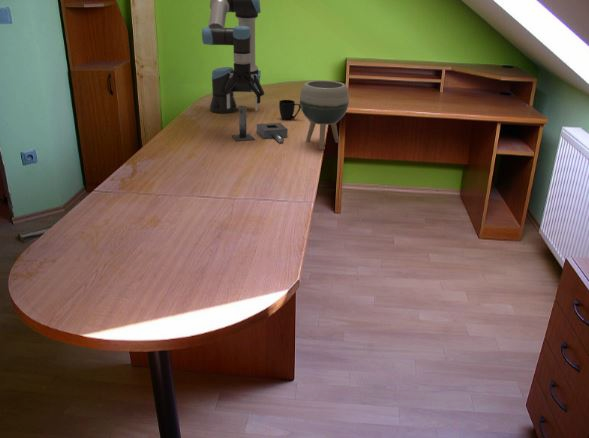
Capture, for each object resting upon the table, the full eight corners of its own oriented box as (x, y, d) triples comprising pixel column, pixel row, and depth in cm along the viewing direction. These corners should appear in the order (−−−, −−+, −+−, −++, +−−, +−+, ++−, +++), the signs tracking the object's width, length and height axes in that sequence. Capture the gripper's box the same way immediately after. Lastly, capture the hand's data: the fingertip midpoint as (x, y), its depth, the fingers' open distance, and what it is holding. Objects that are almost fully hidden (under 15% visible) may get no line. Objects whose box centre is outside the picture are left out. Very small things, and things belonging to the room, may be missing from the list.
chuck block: (256, 132, 268) (256, 124, 266) (279, 130, 272) (279, 122, 270) (269, 144, 250) (269, 136, 248) (293, 142, 254) (293, 134, 252)
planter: (350, 140, 259) (355, 82, 247) (338, 154, 240) (343, 91, 228) (306, 135, 265) (309, 77, 253) (291, 148, 246) (293, 86, 234)
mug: (296, 122, 286) (296, 104, 282) (276, 119, 291) (276, 101, 287) (303, 119, 293) (303, 101, 289) (283, 116, 297) (283, 99, 293)
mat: (231, 135, 261) (231, 134, 261) (249, 134, 264) (249, 133, 263) (236, 141, 253) (236, 140, 253) (254, 139, 256) (254, 138, 256)
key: (237, 138, 255) (237, 108, 249) (241, 134, 261) (240, 104, 255) (244, 139, 255) (244, 108, 249) (248, 135, 261) (247, 105, 254)
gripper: (212, 62, 242) (214, 109, 251) (267, 65, 238) (266, 113, 248) (217, 59, 249) (219, 105, 258) (270, 62, 245) (270, 109, 254)
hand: (242, 109), depth 253 cm, fingers open, 13 cm apart
